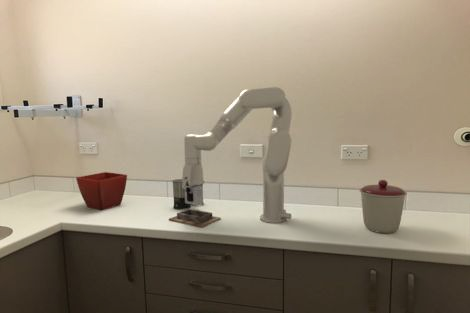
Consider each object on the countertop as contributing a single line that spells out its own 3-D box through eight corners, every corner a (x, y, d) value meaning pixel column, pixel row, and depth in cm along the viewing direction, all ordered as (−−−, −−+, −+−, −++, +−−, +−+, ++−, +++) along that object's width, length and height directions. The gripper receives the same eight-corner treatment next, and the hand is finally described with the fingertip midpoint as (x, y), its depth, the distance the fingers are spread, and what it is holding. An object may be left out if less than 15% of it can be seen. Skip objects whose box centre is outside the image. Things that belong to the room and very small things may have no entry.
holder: (220, 219, 159) (220, 212, 158) (201, 227, 147) (201, 220, 147) (188, 213, 170) (188, 206, 169) (168, 220, 158) (168, 213, 158)
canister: (410, 228, 143) (413, 179, 141) (397, 240, 130) (399, 186, 127) (367, 219, 155) (369, 174, 152) (351, 230, 142) (352, 180, 139)
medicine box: (203, 203, 157) (203, 185, 156) (196, 205, 153) (196, 187, 152) (191, 201, 162) (190, 183, 161) (184, 203, 158) (184, 185, 157)
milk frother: (170, 209, 178) (169, 181, 176) (182, 201, 193) (181, 176, 191) (195, 210, 174) (194, 182, 172) (205, 203, 189) (205, 176, 187)
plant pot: (100, 213, 172) (98, 180, 170) (77, 208, 182) (75, 177, 180) (129, 204, 188) (128, 174, 186) (107, 200, 198) (105, 172, 196)
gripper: (198, 158, 164) (199, 195, 166) (174, 162, 150) (175, 202, 152) (210, 159, 160) (211, 197, 162) (186, 164, 146) (187, 205, 148)
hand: (193, 199), depth 157 cm, fingers closed on medicine box, 4 cm apart
